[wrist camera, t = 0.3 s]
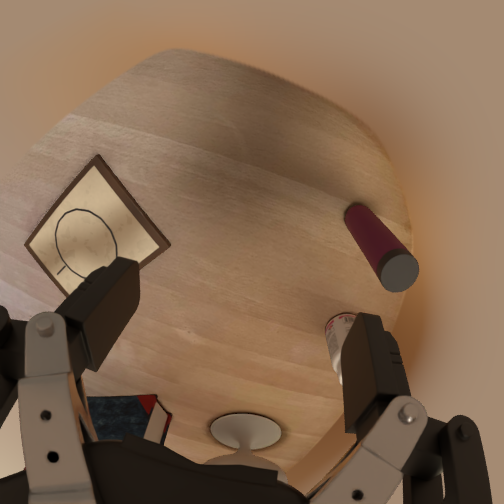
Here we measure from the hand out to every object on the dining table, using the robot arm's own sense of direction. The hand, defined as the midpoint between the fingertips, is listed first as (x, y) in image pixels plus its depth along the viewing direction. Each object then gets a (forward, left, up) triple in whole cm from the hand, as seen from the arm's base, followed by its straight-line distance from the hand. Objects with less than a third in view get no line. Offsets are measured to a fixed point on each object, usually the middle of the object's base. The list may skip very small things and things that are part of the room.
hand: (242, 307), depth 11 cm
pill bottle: (+21, -2, -22) cm, 30 cm away
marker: (+9, +6, -21) cm, 24 cm away
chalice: (+33, -26, -22) cm, 47 cm away
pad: (-6, -21, -21) cm, 30 cm away
